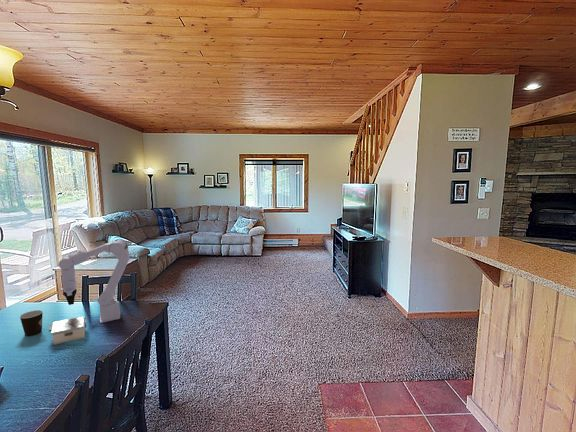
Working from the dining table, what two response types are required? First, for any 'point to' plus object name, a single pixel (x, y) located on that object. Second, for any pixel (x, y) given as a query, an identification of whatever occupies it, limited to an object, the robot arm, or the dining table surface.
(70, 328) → the lid
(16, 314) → the dining table surface
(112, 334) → the dining table surface
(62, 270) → the robot arm
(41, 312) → the coffee mug
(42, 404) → the dining table surface
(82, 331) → the white box
